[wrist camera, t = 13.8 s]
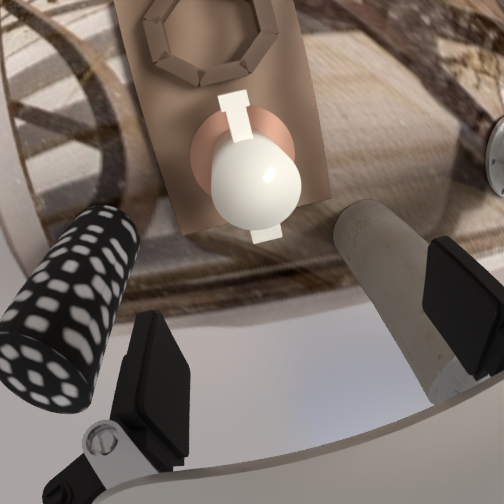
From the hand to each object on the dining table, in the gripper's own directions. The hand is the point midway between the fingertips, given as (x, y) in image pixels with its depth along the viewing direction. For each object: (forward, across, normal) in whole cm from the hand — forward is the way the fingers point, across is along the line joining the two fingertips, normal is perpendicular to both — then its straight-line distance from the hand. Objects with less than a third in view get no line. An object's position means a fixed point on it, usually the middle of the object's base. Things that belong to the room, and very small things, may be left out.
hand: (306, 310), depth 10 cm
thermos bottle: (+24, -12, +12) cm, 30 cm away
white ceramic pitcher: (+23, 0, -1) cm, 23 cm away
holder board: (+24, 0, -6) cm, 25 cm away
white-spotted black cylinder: (+24, +17, +5) cm, 30 cm away
